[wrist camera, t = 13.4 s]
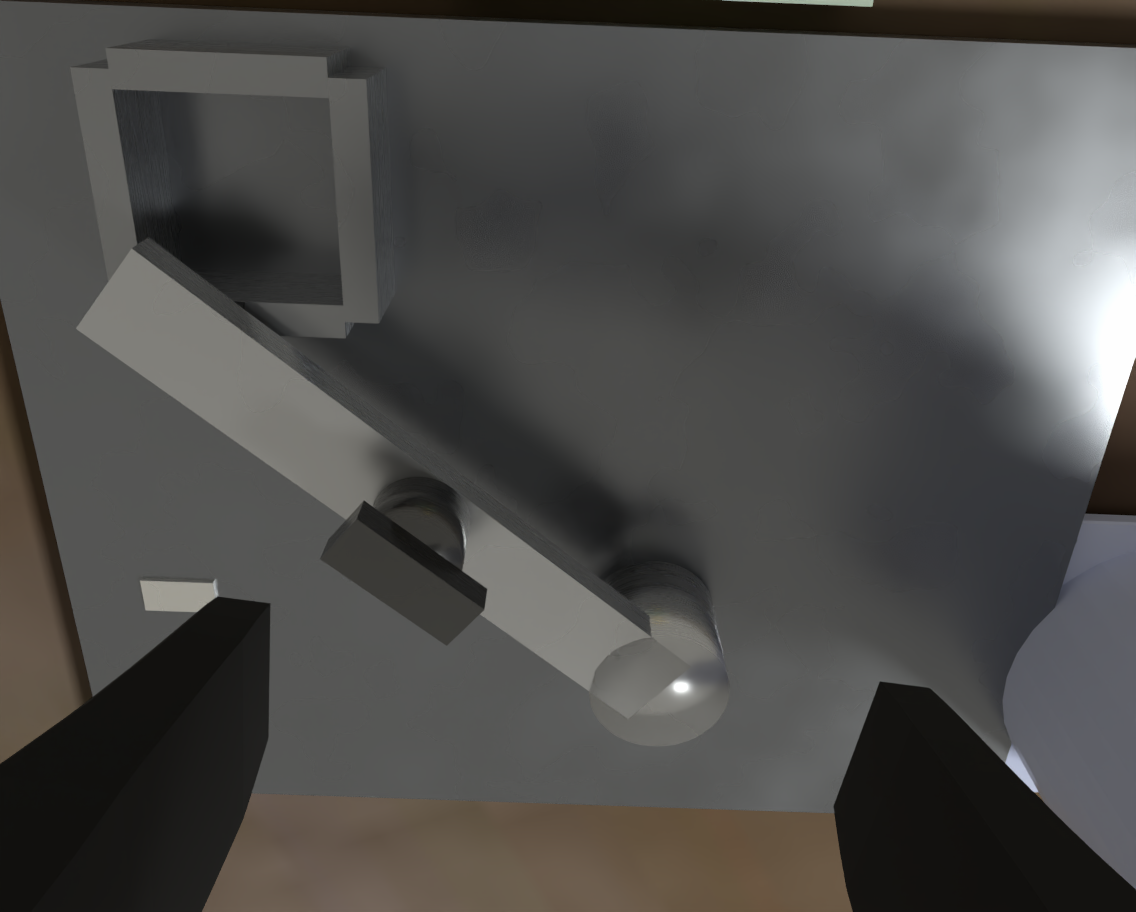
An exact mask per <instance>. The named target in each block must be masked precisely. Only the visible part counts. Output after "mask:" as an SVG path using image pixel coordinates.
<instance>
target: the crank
mask: <svg viewBox="0 0 1136 912" xmlns="http://www.w3.org/2000/svg"><path fill="white" fill-rule="evenodd" d="M76 329H77V330H78V331H80V332H81V333H83V334H84V335H85V336H87V337H88V338H90V339H91V340H92V341H94V342H95V343H97V344H98V345H100V346H101V347H102V348H104V349H105V350H107V351H108V352H109V353H111V354H112V355H114V356H115V357H117V358H118V359H119V360H121V361H122V362H124V363H125V364H126V365H128V366H129V367H131V368H132V369H134V370H135V371H136V372H138V373H139V374H141V375H142V376H143V377H145V378H146V379H148V380H149V381H151V382H152V383H153V384H155V385H156V386H158V387H159V388H160V389H162V390H163V391H165V392H166V393H167V394H169V395H170V396H172V397H173V398H175V399H176V400H177V401H179V402H180V403H182V404H183V405H184V406H186V407H187V408H189V409H190V410H192V411H193V412H194V413H196V414H197V415H199V416H200V417H201V418H203V419H204V420H206V421H207V422H209V423H210V424H211V425H213V426H214V427H216V428H217V429H218V430H220V431H221V432H223V433H224V434H226V435H227V436H228V437H230V438H231V439H233V440H234V441H235V442H237V443H238V444H240V445H241V446H242V447H244V448H245V449H247V450H248V451H250V452H251V453H252V454H254V455H255V456H257V457H258V458H259V459H261V460H262V461H264V462H265V463H267V464H268V465H269V466H271V467H272V468H274V469H275V470H276V471H278V472H279V473H281V474H282V475H284V476H285V477H286V478H288V479H289V480H291V481H292V482H293V483H295V484H296V485H298V486H299V487H301V488H302V489H303V490H305V491H306V492H308V493H309V494H310V495H312V496H313V497H315V498H316V499H318V500H319V501H320V502H322V503H323V504H325V505H326V506H327V507H329V508H330V509H332V510H333V511H334V512H336V513H337V514H339V515H340V516H342V517H343V518H344V519H346V521H345V522H344V523H343V524H342V525H341V526H340V527H339V528H338V529H337V530H336V531H335V533H334V534H333V535H332V536H331V537H330V538H329V539H328V541H327V544H326V546H325V548H324V551H323V553H322V555H321V558H320V559H321V560H322V561H323V562H325V563H326V564H328V565H329V566H331V567H332V568H334V569H335V570H337V571H338V572H340V573H341V574H342V575H344V576H345V577H347V578H348V579H350V580H351V581H353V582H354V583H356V584H357V585H359V586H360V587H361V588H363V589H364V590H366V591H367V592H369V593H370V594H372V595H373V596H375V597H376V598H377V599H379V600H380V601H382V602H383V603H385V604H386V605H388V606H389V607H391V608H392V609H394V610H395V611H396V612H398V613H399V614H401V615H402V616H404V617H405V618H407V619H408V620H410V621H411V622H412V623H414V624H415V625H417V626H418V627H420V628H421V629H423V630H424V631H426V632H427V633H429V634H430V635H431V636H433V637H434V638H436V639H437V640H439V641H440V642H442V643H443V644H445V645H446V646H447V645H448V644H449V643H450V642H451V641H452V640H454V639H455V638H456V637H457V636H458V635H459V634H460V633H461V632H462V631H463V630H464V629H465V628H466V627H467V626H468V625H469V624H470V623H471V622H472V621H473V620H474V619H475V618H476V617H477V616H478V615H482V616H483V617H485V618H486V619H487V620H489V621H490V622H492V623H493V624H494V625H496V626H497V627H499V628H500V629H501V630H503V631H504V632H506V633H507V634H509V635H510V636H511V637H513V638H514V639H516V640H517V641H518V642H520V643H521V644H523V645H524V646H526V647H527V648H528V649H530V650H531V651H533V652H534V653H535V654H537V655H538V656H540V657H541V658H543V659H544V660H545V661H547V662H548V663H550V664H551V665H552V666H554V667H555V668H557V669H558V670H560V671H561V672H562V673H564V674H565V675H567V676H568V677H569V678H571V679H572V680H574V681H575V682H577V683H578V684H579V685H581V686H582V687H584V688H585V689H586V690H588V691H589V699H590V704H591V707H592V710H593V712H594V714H595V716H596V718H597V719H598V721H599V722H600V723H601V724H602V725H603V726H604V727H605V728H606V729H607V730H608V731H610V732H611V733H612V734H614V735H616V736H617V737H619V738H621V739H623V740H625V741H628V742H631V743H634V744H639V745H645V746H670V745H675V744H679V743H683V742H686V741H689V740H691V739H694V738H696V737H697V736H699V735H701V734H703V733H704V732H706V731H707V730H708V729H710V728H711V727H712V726H713V725H714V724H715V723H716V722H717V721H718V719H719V718H720V717H721V715H722V714H723V712H724V710H725V708H726V706H727V703H728V699H729V692H730V688H729V680H728V675H727V670H726V665H725V661H724V656H723V651H722V646H721V641H720V637H719V632H718V627H717V622H716V617H715V613H714V608H713V603H712V599H711V596H710V594H709V591H708V590H707V588H706V586H705V585H704V584H703V583H702V581H701V580H700V579H699V578H698V577H697V576H695V575H694V574H693V573H691V572H690V571H688V570H686V569H684V568H682V567H680V566H677V565H675V564H671V563H666V562H659V561H647V562H639V563H634V564H630V565H627V566H624V567H622V568H620V569H618V570H616V571H615V572H613V573H611V574H610V575H609V576H607V577H606V578H605V579H604V580H602V579H600V578H599V577H598V576H596V575H595V574H594V573H592V572H591V571H590V570H588V569H587V568H586V567H584V566H583V565H582V564H581V563H579V562H578V561H577V560H575V559H574V558H573V557H571V556H570V555H569V554H567V553H566V552H565V551H563V550H562V549H561V548H559V547H558V546H557V545H555V544H554V543H553V542H551V541H550V540H549V539H547V538H546V537H545V536H543V535H542V534H541V533H539V532H538V531H537V530H536V529H534V528H533V527H532V526H530V525H529V524H528V523H526V522H525V521H524V520H522V519H521V518H520V517H518V516H517V515H516V514H514V513H513V512H512V511H510V510H509V509H508V508H506V507H505V506H504V505H502V504H501V503H500V502H498V501H497V500H496V499H495V498H493V497H492V496H491V495H489V494H488V493H487V492H485V491H484V490H483V489H481V488H480V487H479V486H477V485H476V484H475V483H473V482H472V481H471V480H469V479H468V478H467V477H465V476H464V475H463V474H461V473H460V472H459V471H457V470H456V469H455V468H453V467H452V466H451V465H450V464H448V463H447V462H446V461H444V460H443V459H442V458H440V457H439V456H438V455H436V454H435V453H434V452H432V451H431V450H430V449H428V448H427V447H426V446H424V445H423V444H422V443H420V442H419V441H418V440H416V439H415V438H414V437H412V436H411V435H410V434H408V433H407V432H406V431H405V430H403V429H402V428H401V427H399V426H398V425H397V424H395V423H394V422H393V421H391V420H390V419H389V418H387V417H386V416H385V415H383V414H382V413H381V412H379V411H378V410H377V409H375V408H374V407H373V406H371V405H370V404H369V403H367V402H366V401H365V400H364V399H362V398H361V397H360V396H358V395H357V394H356V393H354V392H353V391H352V390H350V389H349V388H348V387H346V386H345V385H344V384H342V383H341V382H340V381H338V380H337V379H336V378H334V377H333V376H332V375H330V374H329V373H328V372H326V371H325V370H324V369H322V368H321V367H320V366H319V365H317V364H316V363H315V362H313V361H312V360H311V359H309V358H308V357H307V356H305V355H304V354H303V353H301V352H300V351H299V350H297V349H296V348H295V347H293V346H292V345H291V344H289V343H288V342H287V341H285V340H284V339H283V338H281V337H280V336H279V335H278V334H276V333H275V332H274V331H272V330H271V329H270V328H268V327H267V326H266V325H264V324H263V323H262V322H260V321H259V320H258V319H256V318H255V317H254V316H252V315H251V314H250V313H248V312H247V311H246V310H244V309H243V308H242V307H240V306H239V305H238V304H236V303H235V302H234V301H233V300H231V299H230V298H229V297H227V296H226V295H225V294H223V293H222V292H221V291H219V290H218V289H217V288H215V287H214V286H213V285H211V284H210V283H209V282H207V281H206V280H205V279H203V278H202V277H201V276H199V275H198V274H197V273H195V272H194V271H193V270H191V269H190V268H189V267H188V266H186V265H185V264H184V263H182V262H181V261H180V260H178V259H177V258H176V257H174V256H173V255H172V254H170V253H169V252H168V251H166V250H165V249H164V248H162V247H161V246H160V245H158V244H157V243H156V242H154V241H153V240H152V239H150V238H149V237H148V238H147V239H145V240H144V241H142V242H141V243H139V244H138V245H136V246H135V247H133V248H132V249H131V250H130V251H129V253H128V254H127V256H126V257H125V259H124V260H123V262H122V263H121V264H120V266H119V267H118V269H117V270H116V272H115V273H114V274H113V276H112V277H111V279H110V280H109V282H108V283H107V285H106V286H105V287H104V289H103V290H102V292H101V293H100V295H99V296H98V297H97V299H96V300H95V302H94V303H93V305H92V306H91V308H90V309H89V310H88V312H87V313H86V315H85V316H84V318H83V319H82V321H81V322H80V323H79V325H78V326H77V328H76Z"/></svg>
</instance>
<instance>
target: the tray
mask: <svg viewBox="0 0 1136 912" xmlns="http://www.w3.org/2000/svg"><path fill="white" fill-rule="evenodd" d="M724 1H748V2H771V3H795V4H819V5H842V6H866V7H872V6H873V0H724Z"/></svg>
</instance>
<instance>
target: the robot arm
mask: <svg viewBox="0 0 1136 912" xmlns="http://www.w3.org/2000/svg"><path fill="white" fill-rule="evenodd" d="M270 604H271V603H265V602H257V601H249V600H241V599H233V598H226V597H218V596H217V597H216V598H214V599H213V600H212V601H210V602H209V603H207V604H206V605H205V606H204V607H202V608H201V609H200V610H199V611H198V612H196V613H195V614H194V615H193V616H192V617H190V618H189V619H188V620H187V621H186V622H184V623H183V624H182V625H181V626H180V627H178V628H177V629H176V630H175V631H174V632H173V633H171V634H170V635H169V636H168V637H167V638H165V639H164V640H163V641H162V642H161V643H159V644H158V645H157V646H156V647H155V648H153V649H152V650H151V651H150V652H148V653H147V654H146V655H145V656H144V657H142V658H141V659H140V660H139V661H138V662H136V663H135V664H134V665H133V666H131V667H130V668H129V669H128V670H126V671H125V672H124V673H123V674H121V675H120V676H119V677H117V678H116V679H115V680H114V681H112V682H111V683H110V684H109V685H107V686H106V687H105V688H103V689H102V690H101V691H100V692H98V693H97V694H96V695H94V696H93V697H92V698H91V699H89V700H88V701H87V702H86V703H84V704H83V705H82V706H80V707H79V708H78V709H76V710H75V711H74V712H72V713H71V714H70V715H68V716H67V717H66V718H64V719H63V720H61V721H60V722H59V723H57V724H56V725H54V726H53V727H52V728H50V729H49V730H47V731H46V732H45V733H43V734H42V735H40V736H39V737H38V738H36V739H35V740H33V741H32V742H31V743H29V744H28V745H26V746H25V747H23V748H22V749H21V750H19V751H18V752H16V753H15V754H14V755H12V756H11V757H9V758H8V759H7V760H5V761H4V762H2V763H1V764H0V912H202V910H203V908H204V906H205V903H206V901H207V899H208V897H209V895H210V892H211V890H212V888H213V886H214V884H215V881H216V879H217V877H218V875H219V872H220V870H221V868H222V866H223V863H224V861H225V859H226V857H227V854H228V852H229V850H230V848H231V845H232V843H233V841H234V839H235V836H236V834H237V832H238V830H239V827H240V825H241V823H242V820H243V818H244V815H245V812H246V809H247V806H248V802H249V799H250V796H251V793H252V790H253V787H254V784H255V781H256V778H257V774H258V771H259V768H260V764H261V761H262V758H263V755H264V751H265V748H266V745H267V742H268V738H269V673H270ZM1003 714H1004V724H1005V726H1006V729H1007V732H1008V735H1009V737H1010V740H1011V743H1012V744H1011V747H1010V750H1009V753H1008V756H1007V759H1006V762H1004V761H1003V760H1002V759H1001V758H1000V757H999V756H998V755H997V754H996V753H995V752H994V751H993V750H992V749H991V748H990V747H989V746H988V745H987V744H986V743H985V742H984V741H983V740H982V739H981V738H980V737H979V736H978V735H977V734H976V733H975V732H974V731H973V730H972V729H971V728H970V726H969V725H968V724H967V723H966V722H965V721H964V720H963V719H962V718H961V717H960V716H959V715H958V714H957V713H956V712H955V711H954V710H953V709H952V708H951V707H950V706H949V705H948V704H947V703H946V702H944V701H943V700H942V699H941V698H940V697H939V696H938V695H937V694H936V693H935V692H934V691H933V690H932V689H931V688H928V687H920V686H912V685H904V684H897V683H889V682H881V681H880V682H879V685H878V688H877V690H876V693H875V696H874V698H873V701H872V704H871V706H870V709H869V712H868V715H867V717H866V720H865V723H864V725H863V728H862V731H861V733H860V736H859V739H858V741H857V744H856V747H855V750H854V752H853V755H852V758H851V760H850V763H849V766H848V768H847V771H846V774H845V776H844V779H843V782H842V785H841V787H840V790H839V793H838V795H837V798H836V801H835V803H834V806H833V807H834V814H835V821H836V827H837V834H838V841H839V848H840V854H841V860H842V866H843V871H844V877H845V882H846V888H847V892H848V896H849V899H850V903H851V906H852V910H853V912H1136V516H1133V515H1106V514H1085V515H1084V519H1083V522H1082V525H1081V528H1080V531H1079V534H1078V537H1077V540H1076V544H1075V547H1074V550H1073V553H1072V556H1071V559H1070V562H1069V565H1068V569H1067V572H1066V575H1065V578H1064V581H1063V584H1062V587H1061V590H1060V594H1059V597H1058V600H1057V603H1056V606H1055V608H1054V609H1053V610H1052V611H1051V612H1050V613H1049V614H1048V615H1047V616H1046V617H1045V618H1044V619H1043V620H1042V621H1041V622H1040V624H1039V625H1038V626H1037V627H1036V628H1035V629H1034V630H1033V631H1032V632H1031V634H1030V635H1029V637H1028V638H1027V640H1026V641H1025V642H1024V644H1023V645H1022V647H1021V648H1020V650H1019V651H1018V653H1017V654H1016V657H1015V659H1014V661H1013V664H1012V666H1011V668H1010V671H1009V673H1008V675H1007V678H1006V684H1005V689H1004V695H1003ZM1034 792H1039V794H1040V796H1041V797H1042V799H1043V801H1044V802H1043V801H1042V800H1041V799H1040V798H1039V797H1038V796H1037V795H1036V794H1035V793H1034Z"/></svg>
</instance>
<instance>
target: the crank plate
mask: <svg viewBox="0 0 1136 912" xmlns="http://www.w3.org/2000/svg"><path fill="white" fill-rule="evenodd" d="M148 237H149V238H150V239H152V240H153V241H154V242H156V243H157V244H158V245H160V246H161V247H162V248H164V249H165V250H166V251H168V252H169V253H170V254H172V255H173V256H174V257H176V258H177V259H178V260H180V261H181V262H182V263H184V264H185V265H186V266H188V267H189V268H190V269H191V270H193V271H194V272H195V273H197V274H198V275H199V276H201V277H202V278H203V279H205V280H206V281H207V282H209V283H210V284H211V285H213V286H214V287H215V288H217V289H218V290H219V291H221V292H222V293H223V294H225V295H226V296H227V297H229V298H230V299H231V300H233V301H234V302H235V303H236V304H238V305H239V306H240V307H242V308H243V309H244V310H246V311H247V312H248V313H250V314H251V315H252V316H254V317H255V318H256V319H258V320H259V321H260V322H262V323H263V324H264V325H266V326H267V327H268V328H270V329H271V330H272V331H274V332H275V333H276V334H278V335H279V336H280V337H281V338H283V339H284V340H285V341H287V342H288V343H289V344H291V345H292V346H293V347H295V348H296V349H297V350H299V351H300V352H301V353H303V354H304V355H305V356H307V357H308V358H309V359H311V360H312V361H313V362H315V363H316V364H317V365H319V366H320V367H321V368H322V369H324V370H325V371H326V372H328V373H329V374H330V375H332V376H333V377H334V378H336V379H337V380H338V381H340V382H341V383H342V384H344V385H345V386H346V387H348V388H349V389H350V390H352V391H353V392H354V393H356V394H357V395H358V396H360V397H361V398H362V399H364V400H365V401H366V402H367V403H369V404H370V405H371V406H373V407H374V408H375V409H377V410H378V411H379V412H381V413H382V414H383V415H385V416H386V417H387V418H389V419H390V420H391V421H393V422H394V423H395V424H397V425H398V426H399V427H401V428H402V429H403V430H405V431H406V432H407V433H408V434H410V435H411V436H412V437H414V438H415V439H416V440H418V441H419V442H420V443H422V444H423V445H424V446H426V447H427V448H428V449H430V450H431V451H432V452H434V453H435V454H436V455H438V456H439V457H440V458H442V459H443V460H444V461H446V462H447V463H448V464H450V465H451V466H452V467H453V468H455V469H456V470H457V471H459V472H460V473H461V474H463V475H464V476H465V477H467V478H468V479H469V480H471V481H472V482H473V483H475V484H476V485H477V486H479V487H480V488H481V489H483V490H484V491H485V492H487V493H488V494H489V495H491V496H492V497H493V498H495V499H496V500H497V501H498V502H500V503H501V504H502V505H504V506H505V507H506V508H508V509H509V510H510V511H512V512H513V513H514V514H516V515H517V516H518V517H520V518H521V519H522V520H524V521H525V522H526V523H528V524H529V525H530V526H532V527H533V528H534V529H536V530H537V531H538V532H539V533H541V534H542V535H543V536H545V537H546V538H547V539H549V540H550V541H551V542H553V543H554V544H555V545H557V546H558V547H559V548H561V549H562V550H563V551H565V552H566V553H567V554H569V555H570V556H571V557H573V558H574V559H575V560H577V561H578V562H579V563H581V564H582V565H583V566H584V567H586V568H587V569H588V570H590V571H591V572H592V573H594V574H595V575H596V576H598V577H599V578H600V579H602V580H604V579H605V578H606V577H607V576H609V575H610V574H611V573H613V572H615V571H616V570H618V569H620V568H622V567H624V566H627V565H630V564H634V563H639V562H647V561H659V562H666V563H671V564H675V565H677V566H680V567H682V568H684V569H686V570H688V571H690V572H691V573H693V574H694V575H695V576H697V577H698V578H699V579H700V580H701V581H702V583H703V584H704V585H705V586H706V588H707V590H708V591H709V594H710V596H711V599H712V603H713V608H714V613H715V617H716V622H717V627H718V632H719V637H720V641H721V646H722V651H723V656H724V661H725V665H726V670H727V675H728V680H729V688H730V692H729V699H728V703H727V706H726V708H725V710H724V712H723V714H722V715H721V717H720V718H719V719H718V721H717V722H716V723H715V724H714V725H713V726H712V727H711V728H710V729H708V730H707V731H706V732H704V733H703V734H701V735H699V736H697V737H696V738H694V739H691V740H689V741H686V742H683V743H679V744H675V745H670V746H645V745H639V744H634V743H631V742H628V741H625V740H623V739H621V738H619V737H617V736H616V735H614V734H612V733H611V732H610V731H608V730H607V729H606V728H605V727H604V726H603V725H602V724H601V723H600V722H599V721H598V719H597V718H596V716H595V714H594V712H593V710H592V707H591V704H590V699H589V691H588V690H586V689H585V688H584V687H582V686H581V685H579V684H578V683H577V682H575V681H574V680H572V679H571V678H569V677H568V676H567V675H565V674H564V673H562V672H561V671H560V670H558V669H557V668H555V667H554V666H552V665H551V664H550V663H548V662H547V661H545V660H544V659H543V658H541V657H540V656H538V655H537V654H535V653H534V652H533V651H531V650H530V649H528V648H527V647H526V646H524V645H523V644H521V643H520V642H518V641H517V640H516V639H514V638H513V637H511V636H510V635H509V634H507V633H506V632H504V631H503V630H501V629H500V628H499V627H497V626H496V625H494V624H493V623H492V622H490V621H489V620H487V619H486V618H485V617H483V616H482V615H478V616H477V617H476V618H475V619H474V620H473V621H472V622H471V623H470V624H469V625H468V626H467V627H466V628H465V629H464V630H463V631H462V632H461V633H460V634H459V635H458V636H457V637H456V638H455V639H454V640H452V641H451V642H450V643H449V644H448V645H447V646H446V645H445V644H443V643H442V642H440V641H439V640H437V639H436V638H434V637H433V636H431V635H430V634H429V633H427V632H426V631H424V630H423V629H421V628H420V627H418V626H417V625H415V624H414V623H412V622H411V621H410V620H408V619H407V618H405V617H404V616H402V615H401V614H399V613H398V612H396V611H395V610H394V609H392V608H391V607H389V606H388V605H386V604H385V603H383V602H382V601H380V600H379V599H377V598H376V597H375V596H373V595H372V594H370V593H369V592H367V591H366V590H364V589H363V588H361V587H360V586H359V585H357V584H356V583H354V582H353V581H351V580H350V579H348V578H347V577H345V576H344V575H342V574H341V573H340V572H338V571H337V570H335V569H334V568H332V567H331V566H329V565H328V564H326V563H325V562H323V561H322V560H321V559H320V558H321V555H322V553H323V551H324V548H325V546H326V544H327V541H328V539H329V538H330V537H331V536H332V535H333V534H334V533H335V531H336V530H337V529H338V528H339V527H340V526H341V525H342V524H343V523H344V522H345V521H346V519H344V518H343V517H342V516H340V515H339V514H337V513H336V512H334V511H333V510H332V509H330V508H329V507H327V506H326V505H325V504H323V503H322V502H320V501H319V500H318V499H316V498H315V497H313V496H312V495H310V494H309V493H308V492H306V491H305V490H303V489H302V488H301V487H299V486H298V485H296V484H295V483H293V482H292V481H291V480H289V479H288V478H286V477H285V476H284V475H282V474H281V473H279V472H278V471H276V470H275V469H274V468H272V467H271V466H269V465H268V464H267V463H265V462H264V461H262V460H261V459H259V458H258V457H257V456H255V455H254V454H252V453H251V452H250V451H248V450H247V449H245V448H244V447H242V446H241V445H240V444H238V443H237V442H235V441H234V440H233V439H231V438H230V437H228V436H227V435H226V434H224V433H223V432H221V431H220V430H218V429H217V428H216V427H214V426H213V425H211V424H210V423H209V422H207V421H206V420H204V419H203V418H201V417H200V416H199V415H197V414H196V413H194V412H193V411H192V410H190V409H189V408H187V407H186V406H184V405H183V404H182V403H180V402H179V401H177V400H176V399H175V398H173V397H172V396H170V395H169V394H167V393H166V392H165V391H163V390H162V389H160V388H159V387H158V386H156V385H155V384H153V383H152V382H151V381H149V380H148V379H146V378H145V377H143V376H142V375H141V374H139V373H138V372H136V371H135V370H134V369H132V368H131V367H129V366H128V365H126V364H125V363H124V362H122V361H121V360H119V359H118V358H117V357H115V356H114V355H112V354H111V353H109V352H108V351H107V350H105V349H104V348H102V347H101V346H100V345H98V344H97V343H95V342H94V341H92V340H91V339H90V338H88V337H87V336H85V335H84V334H83V333H81V332H80V331H78V330H77V329H76V328H77V326H78V325H79V323H80V322H81V321H82V319H83V318H84V316H85V315H86V313H87V312H88V310H89V309H90V308H91V306H92V305H93V303H94V302H95V300H96V299H97V297H98V296H99V295H100V293H101V292H102V290H103V289H104V287H105V286H106V285H107V283H108V282H109V280H110V279H111V277H112V276H113V274H114V273H115V272H116V270H117V269H118V267H119V266H120V264H121V263H122V262H123V260H124V259H125V257H126V256H127V254H128V253H129V251H130V250H131V249H132V248H133V247H135V246H136V245H138V244H139V243H141V242H142V241H144V240H145V239H147V238H148ZM0 300H1V304H2V308H3V312H4V317H5V321H6V325H7V330H8V334H9V338H10V343H11V347H12V351H13V355H14V360H15V364H16V368H17V373H18V377H19V381H20V386H21V390H22V394H23V398H24V403H25V407H26V411H27V416H28V420H29V424H30V429H31V433H32V437H33V441H34V446H35V450H36V454H37V459H38V463H39V467H40V472H41V476H42V480H43V485H44V489H45V493H46V497H47V502H48V506H49V510H50V515H51V519H52V523H53V528H54V532H55V536H56V540H57V545H58V549H59V553H60V558H61V562H62V566H63V571H64V575H65V579H66V583H67V588H68V592H69V596H70V601H71V605H72V609H73V614H74V618H75V622H76V627H77V631H78V635H79V639H80V644H81V648H82V652H83V657H84V661H85V665H86V670H87V674H88V678H89V682H90V687H91V691H92V695H93V696H94V695H96V694H97V693H98V692H100V691H101V690H102V689H103V688H105V687H106V686H107V685H109V684H110V683H111V682H112V681H114V680H115V679H116V678H117V677H119V676H120V675H121V674H123V673H124V672H125V671H126V670H128V669H129V668H130V667H131V666H133V665H134V664H135V663H136V662H138V661H139V660H140V659H141V658H142V657H144V656H145V655H146V654H147V653H148V652H150V651H151V650H152V649H153V648H155V647H156V646H157V645H158V644H159V643H161V642H162V641H163V640H164V639H165V638H167V637H168V636H169V635H170V634H171V633H173V632H174V631H175V630H176V629H177V628H178V627H180V626H181V625H182V624H183V623H184V622H186V621H187V620H188V619H189V618H190V617H192V616H193V615H194V614H195V613H196V612H198V611H199V610H200V609H201V608H202V607H204V606H205V605H206V604H207V603H209V602H210V601H212V600H213V599H214V598H216V597H217V596H218V597H226V598H233V599H241V600H249V601H257V602H265V603H271V604H270V673H269V738H268V742H267V745H266V748H265V751H264V755H263V758H262V761H261V764H260V768H259V771H258V774H257V778H256V781H255V784H254V787H253V790H252V793H260V794H289V795H318V796H347V797H377V798H406V799H435V800H465V801H494V802H523V803H552V804H582V805H611V806H640V807H670V808H699V809H728V810H757V811H787V812H816V813H834V807H833V806H834V803H835V801H836V798H837V795H838V793H839V790H840V787H841V785H842V782H843V779H844V776H845V774H846V771H847V768H848V766H849V763H850V760H851V758H852V755H853V752H854V750H855V747H856V744H857V741H858V739H859V736H860V733H861V731H862V728H863V725H864V723H865V720H866V717H867V715H868V712H869V709H870V706H871V704H872V701H873V698H874V696H875V693H876V690H877V688H878V685H879V682H880V681H881V682H889V683H897V684H904V685H912V686H920V687H928V688H931V689H932V690H933V691H934V692H935V693H936V694H937V695H938V696H939V697H940V698H941V699H942V700H943V701H944V702H946V703H947V704H948V705H949V706H950V707H951V708H952V709H953V710H954V711H955V712H956V713H957V714H958V715H959V716H960V717H961V718H962V719H963V720H964V721H965V722H966V723H967V724H968V725H969V726H970V728H971V729H972V730H973V731H974V732H975V733H976V734H977V735H978V736H979V737H980V738H981V739H982V740H983V741H984V742H985V743H986V744H987V745H988V746H989V747H990V748H991V749H992V750H993V751H994V752H995V753H996V754H997V755H998V756H999V757H1000V758H1001V759H1002V760H1003V761H1004V762H1006V759H1007V756H1008V753H1009V750H1010V747H1011V744H1012V743H1011V740H1010V737H1009V735H1008V732H1007V729H1006V726H1005V724H1004V714H1003V695H1004V689H1005V684H1006V678H1007V675H1008V673H1009V671H1010V668H1011V666H1012V664H1013V661H1014V659H1015V657H1016V654H1017V653H1018V651H1019V650H1020V648H1021V647H1022V645H1023V644H1024V642H1025V641H1026V640H1027V638H1028V637H1029V635H1030V634H1031V632H1032V631H1033V630H1034V629H1035V628H1036V627H1037V626H1038V625H1039V624H1040V622H1041V621H1042V620H1043V619H1044V618H1045V617H1046V616H1047V615H1048V614H1049V613H1050V612H1051V611H1052V610H1053V609H1054V608H1055V606H1056V603H1057V600H1058V597H1059V594H1060V590H1061V587H1062V584H1063V581H1064V578H1065V575H1066V572H1067V569H1068V565H1069V562H1070V559H1071V556H1072V553H1073V550H1074V547H1075V544H1076V540H1077V537H1078V534H1079V531H1080V528H1081V525H1082V522H1083V519H1084V515H1085V512H1086V509H1087V506H1088V503H1089V500H1090V497H1091V493H1092V490H1093V487H1094V484H1095V481H1096V478H1097V475H1098V472H1099V468H1100V465H1101V462H1102V459H1103V456H1104V453H1105V450H1106V447H1107V443H1108V440H1109V437H1110V434H1111V431H1112V428H1113V425H1114V422H1115V418H1116V415H1117V412H1118V409H1119V406H1120V403H1121V400H1122V397H1123V393H1124V390H1125V387H1126V384H1127V381H1128V378H1129V375H1130V372H1131V368H1132V365H1133V362H1134V359H1135V356H1136V45H1134V44H1110V43H1087V42H1063V41H1039V40H1015V39H991V38H967V37H943V36H919V35H896V34H872V33H848V32H824V31H800V30H776V29H752V28H728V27H705V26H681V25H657V24H633V23H609V22H585V21H561V20H537V19H514V18H490V17H466V16H442V15H418V14H394V13H370V12H346V11H323V10H299V9H275V8H251V7H227V6H203V5H179V4H155V3H132V2H108V1H84V0H0Z"/></svg>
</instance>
